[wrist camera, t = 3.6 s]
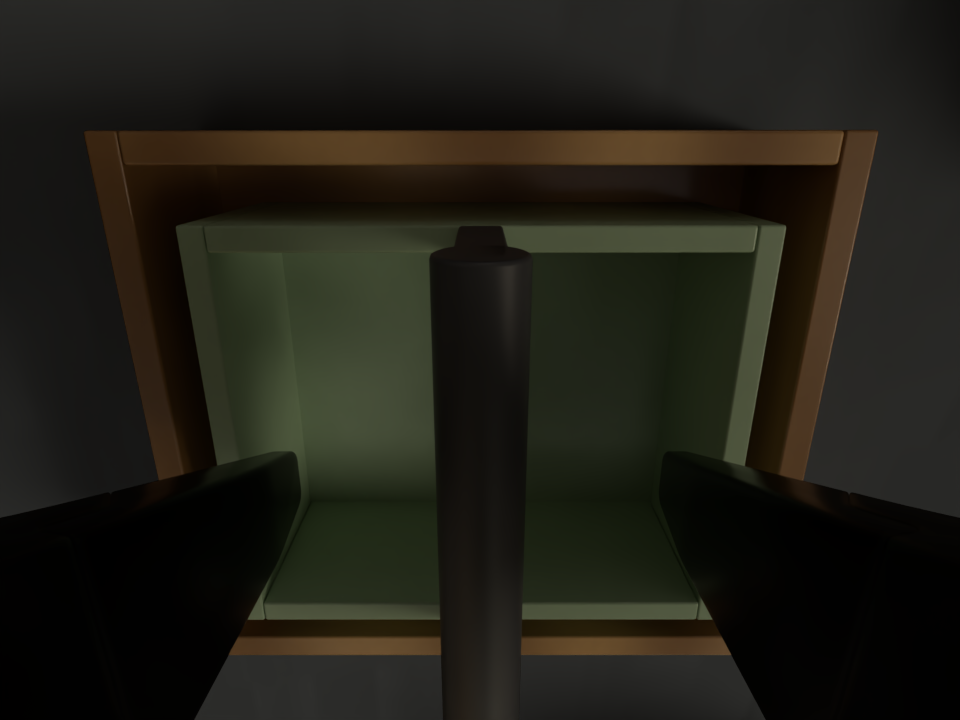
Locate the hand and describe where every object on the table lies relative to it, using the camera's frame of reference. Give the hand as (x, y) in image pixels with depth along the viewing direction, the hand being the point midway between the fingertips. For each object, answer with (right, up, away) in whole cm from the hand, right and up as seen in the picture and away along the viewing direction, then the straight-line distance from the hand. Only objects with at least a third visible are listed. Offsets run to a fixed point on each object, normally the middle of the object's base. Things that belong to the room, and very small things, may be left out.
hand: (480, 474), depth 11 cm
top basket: (0, +2, +5) cm, 6 cm away
